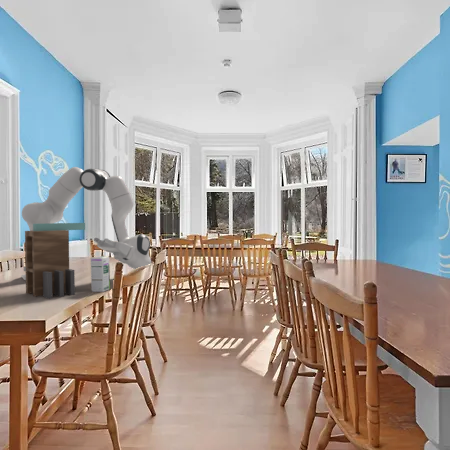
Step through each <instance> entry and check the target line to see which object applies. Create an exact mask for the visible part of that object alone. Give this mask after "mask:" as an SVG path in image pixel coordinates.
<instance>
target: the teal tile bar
mask: <svg viewBox="0 0 450 450" xmlns="http://www.w3.org/2000/svg"><path fill="white" fill-rule="evenodd" d="M56 230H69V231H79V230H80V231H82V230H83V231H84V230H85V231H86V222H63V223H62V222H61V223H60V222H56V223H44V224H33V231H56Z"/></svg>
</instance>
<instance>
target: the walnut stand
mask: <svg viewBox="0 0 450 450" xmlns="http://www.w3.org/2000/svg"><path fill="white" fill-rule="evenodd" d="M69 232H70V230H56V231H30V230H25V231H24V253H25V259H24V260H25V267H26V271H25V274H26V280H25V294H27V295H28V294H32V296H33V297H41V296H42V297H43V272H44V271H48V272H52V295H55V286H54V270H60V271H63V275H64V293H66V285H65V269H70V237H69V236H70V233H69Z"/></svg>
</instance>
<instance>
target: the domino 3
mask: <svg viewBox="0 0 450 450" xmlns="http://www.w3.org/2000/svg"><path fill="white" fill-rule="evenodd" d="M65 285H66V292H65V294H67V295H70V296H72V295H73V296H74V295H75V294H76V291H75V289H76V288H75V286H76V285H75V269H71V268H69V269H65Z"/></svg>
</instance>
